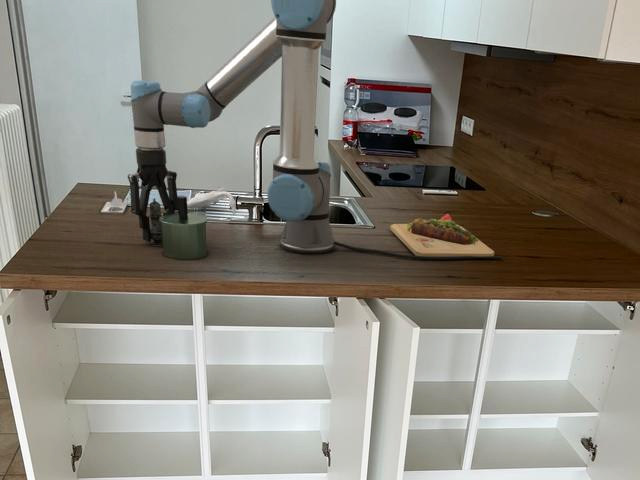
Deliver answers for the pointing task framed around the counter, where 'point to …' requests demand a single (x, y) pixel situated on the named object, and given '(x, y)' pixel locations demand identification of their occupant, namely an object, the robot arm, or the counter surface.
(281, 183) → the robot arm
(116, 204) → the car cutout
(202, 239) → the pot
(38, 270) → the counter surface
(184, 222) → the pot lid
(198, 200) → the dinosaur
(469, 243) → the cutting board
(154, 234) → the dark grey tall piece
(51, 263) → the counter surface
